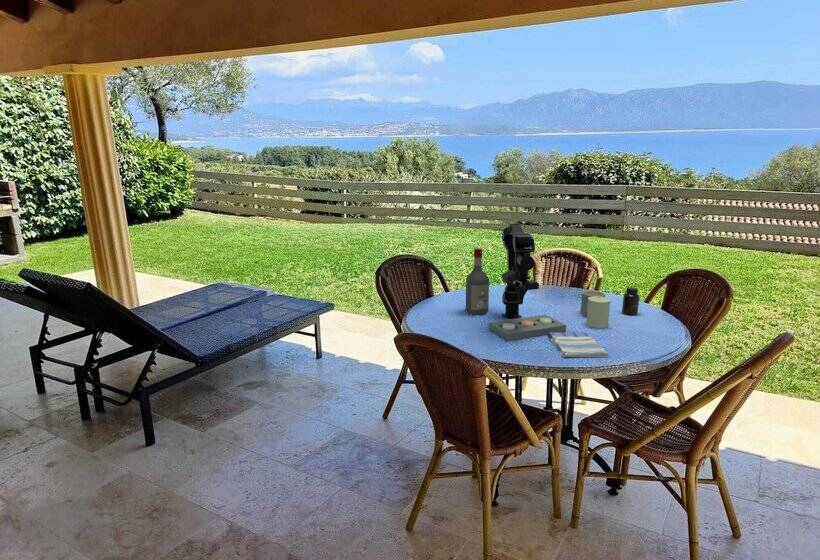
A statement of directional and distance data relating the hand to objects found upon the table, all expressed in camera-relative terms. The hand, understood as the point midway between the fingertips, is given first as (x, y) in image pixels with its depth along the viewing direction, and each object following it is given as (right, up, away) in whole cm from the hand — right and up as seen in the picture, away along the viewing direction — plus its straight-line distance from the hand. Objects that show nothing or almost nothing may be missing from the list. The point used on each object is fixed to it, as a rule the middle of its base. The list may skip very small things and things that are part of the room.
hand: (520, 300), depth 221 cm
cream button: (-5, -13, -2) cm, 14 cm away
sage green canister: (+35, -11, +7) cm, 37 cm away
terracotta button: (+3, -12, +1) cm, 13 cm away
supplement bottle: (+55, -7, +22) cm, 59 cm away
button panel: (+3, -13, +1) cm, 13 cm away
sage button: (+12, -11, +4) cm, 17 cm away
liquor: (-15, -7, +26) cm, 30 cm away
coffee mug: (+37, -7, +23) cm, 44 cm away
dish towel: (+18, -18, -16) cm, 30 cm away
